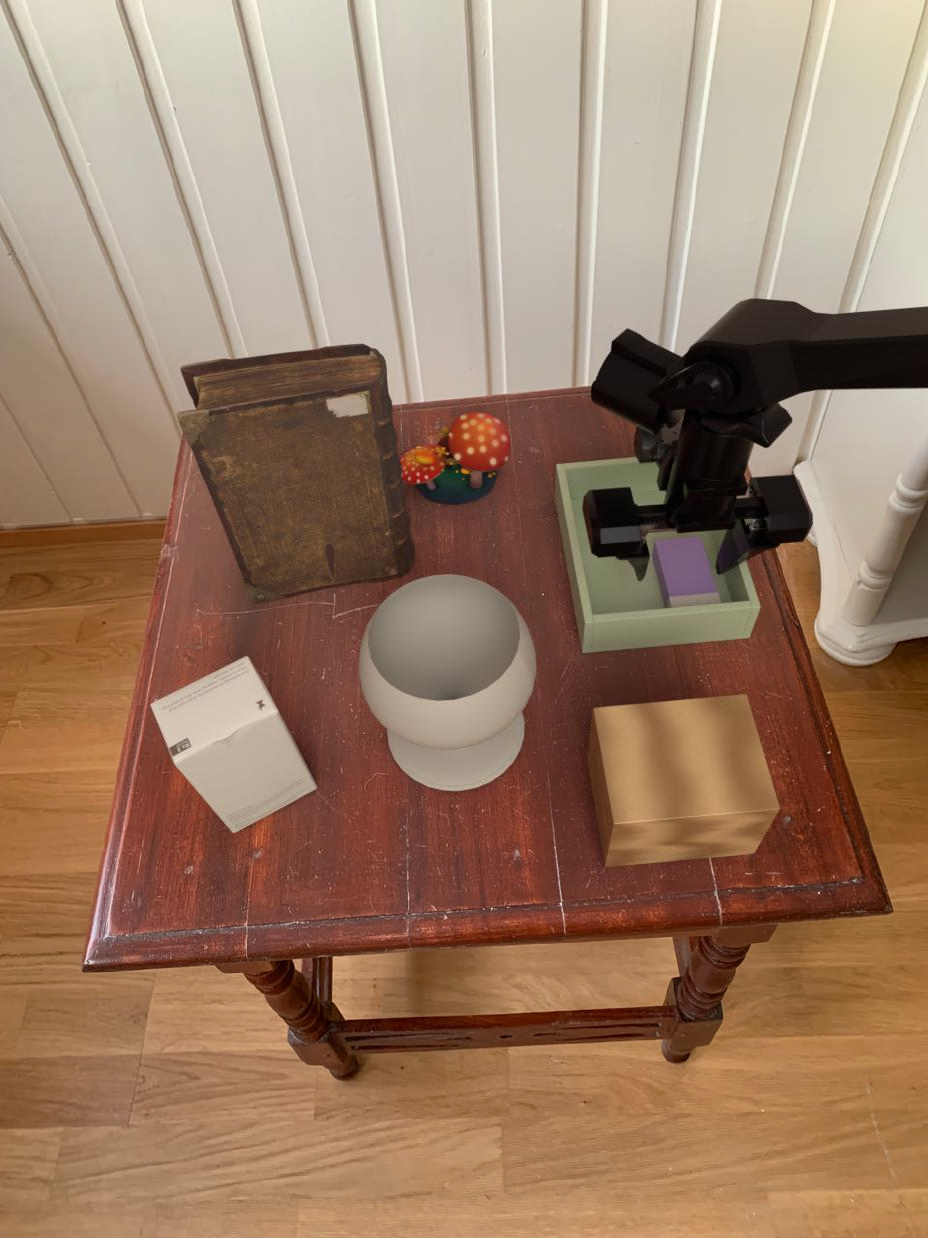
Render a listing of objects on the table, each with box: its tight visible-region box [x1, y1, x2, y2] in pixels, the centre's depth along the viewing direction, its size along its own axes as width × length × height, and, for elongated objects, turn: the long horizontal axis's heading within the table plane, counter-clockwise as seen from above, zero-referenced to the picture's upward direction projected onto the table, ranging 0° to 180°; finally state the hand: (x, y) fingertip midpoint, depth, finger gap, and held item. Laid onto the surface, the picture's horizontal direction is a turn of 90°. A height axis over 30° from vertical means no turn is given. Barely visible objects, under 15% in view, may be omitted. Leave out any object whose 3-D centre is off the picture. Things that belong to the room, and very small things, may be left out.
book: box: [176, 343, 416, 603], centre depth 81 cm, size 17×7×25 cm, turn 93°
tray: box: [554, 456, 762, 654], centre depth 87 cm, size 16×20×5 cm
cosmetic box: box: [149, 655, 318, 834], centre depth 71 cm, size 8×6×15 cm
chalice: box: [358, 573, 538, 792], centre depth 74 cm, size 14×14×15 cm
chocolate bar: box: [652, 536, 722, 608], centre depth 85 cm, size 5×9×2 cm, turn 4°
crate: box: [586, 693, 781, 868], centre depth 71 cm, size 12×10×9 cm
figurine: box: [399, 411, 512, 505], centre depth 94 cm, size 12×9×8 cm
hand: (678, 574), depth 84 cm, fingers open, 7 cm apart
